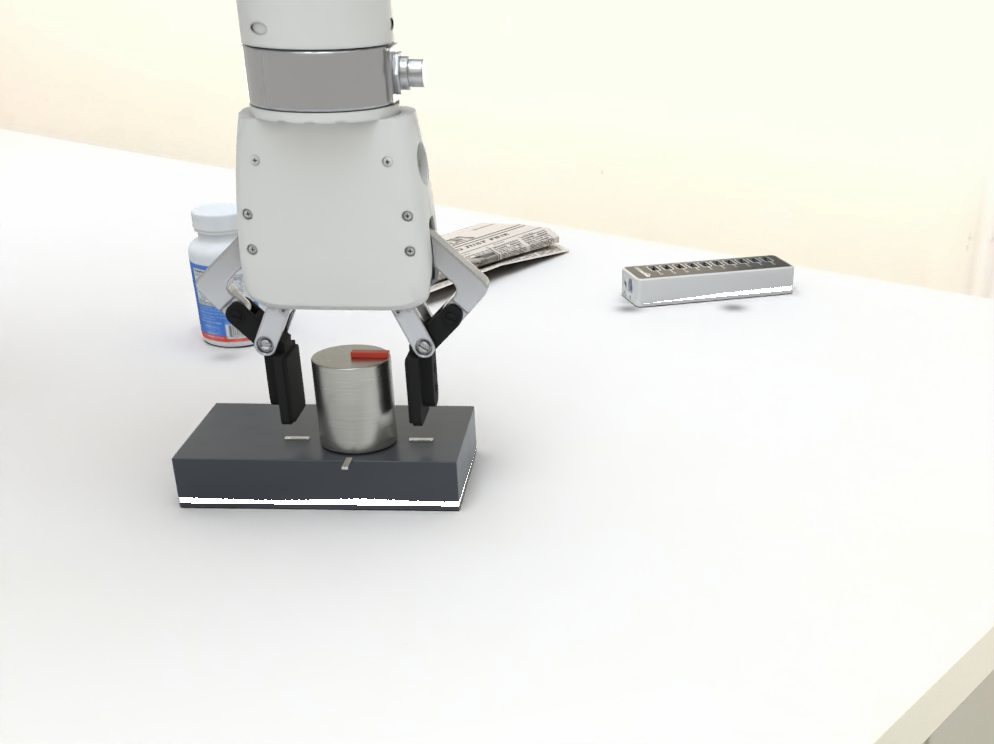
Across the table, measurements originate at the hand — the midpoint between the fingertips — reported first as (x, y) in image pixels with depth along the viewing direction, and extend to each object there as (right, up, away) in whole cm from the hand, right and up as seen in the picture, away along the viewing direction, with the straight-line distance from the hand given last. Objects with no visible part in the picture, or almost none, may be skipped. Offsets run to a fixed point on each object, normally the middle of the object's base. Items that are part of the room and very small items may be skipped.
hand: (356, 414), depth 76 cm
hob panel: (-2, -3, +4) cm, 5 cm away
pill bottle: (-15, +10, +27) cm, 33 cm away
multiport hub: (+22, +17, +39) cm, 48 cm away
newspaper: (-1, +21, +45) cm, 50 cm away
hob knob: (0, -1, +1) cm, 2 cm away
